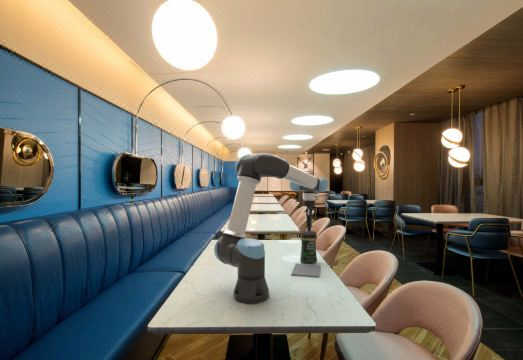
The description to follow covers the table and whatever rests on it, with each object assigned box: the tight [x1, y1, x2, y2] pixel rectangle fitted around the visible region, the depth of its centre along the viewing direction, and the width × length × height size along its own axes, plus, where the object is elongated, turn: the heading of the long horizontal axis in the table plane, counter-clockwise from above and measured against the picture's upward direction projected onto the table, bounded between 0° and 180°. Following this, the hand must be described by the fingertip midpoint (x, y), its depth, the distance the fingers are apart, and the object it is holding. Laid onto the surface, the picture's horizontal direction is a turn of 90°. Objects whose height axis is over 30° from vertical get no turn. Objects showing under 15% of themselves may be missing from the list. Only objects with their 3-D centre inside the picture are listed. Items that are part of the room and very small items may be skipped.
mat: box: [290, 263, 321, 278], centre depth 145 cm, size 18×14×1 cm
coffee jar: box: [300, 230, 318, 265], centre depth 159 cm, size 10×8×19 cm
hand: (309, 237), depth 167 cm, fingers closed
